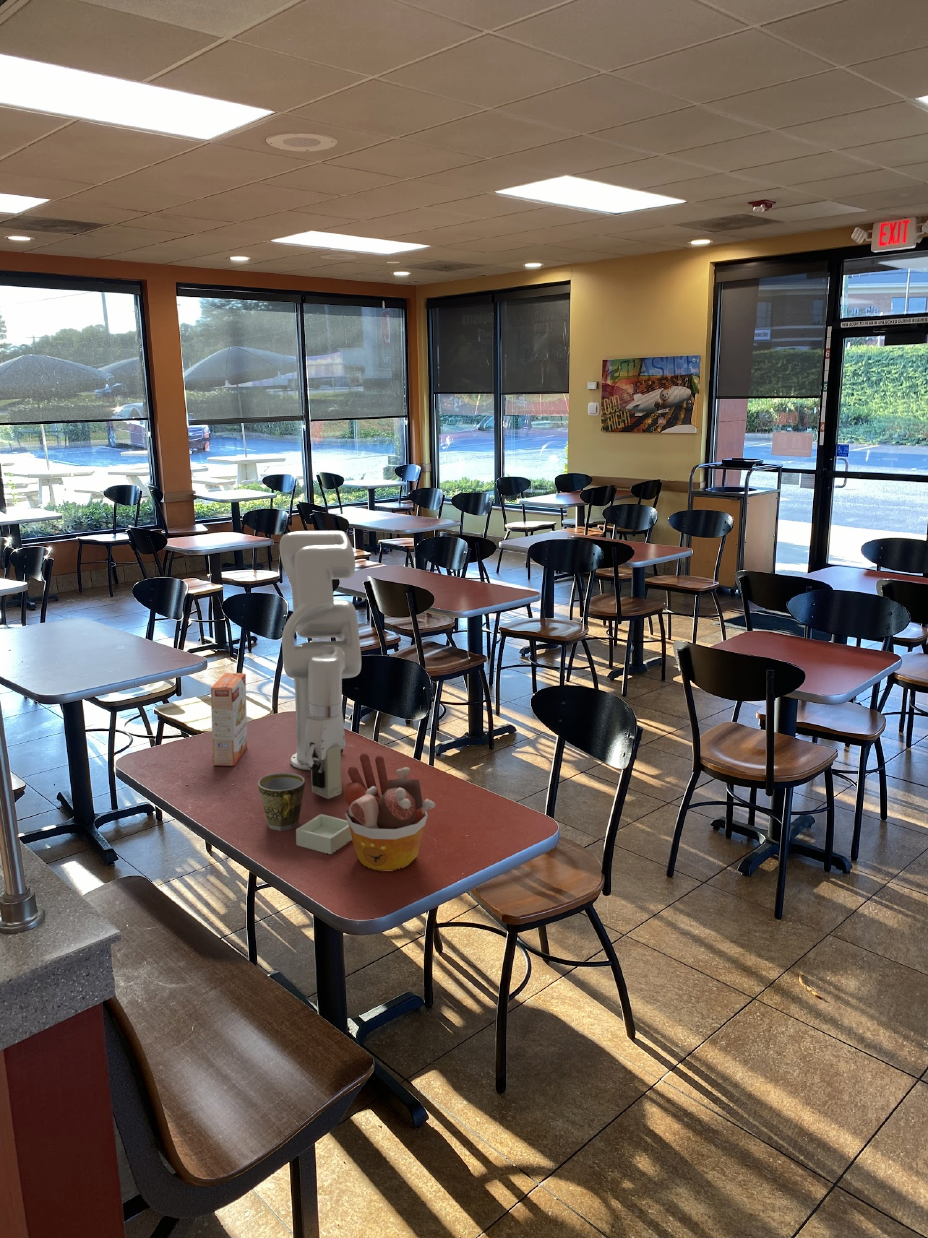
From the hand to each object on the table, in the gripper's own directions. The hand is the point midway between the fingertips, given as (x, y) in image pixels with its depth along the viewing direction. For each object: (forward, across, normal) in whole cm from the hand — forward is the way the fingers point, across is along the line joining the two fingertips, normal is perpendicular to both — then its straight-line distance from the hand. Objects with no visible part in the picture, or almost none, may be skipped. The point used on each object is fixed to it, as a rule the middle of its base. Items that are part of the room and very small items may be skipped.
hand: (326, 781), depth 215 cm
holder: (+3, +18, +13) cm, 23 cm away
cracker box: (+6, -9, -37) cm, 38 cm away
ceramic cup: (+4, +17, +1) cm, 18 cm away
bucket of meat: (+3, +18, +28) cm, 34 cm away
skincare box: (+3, 0, 0) cm, 3 cm away
